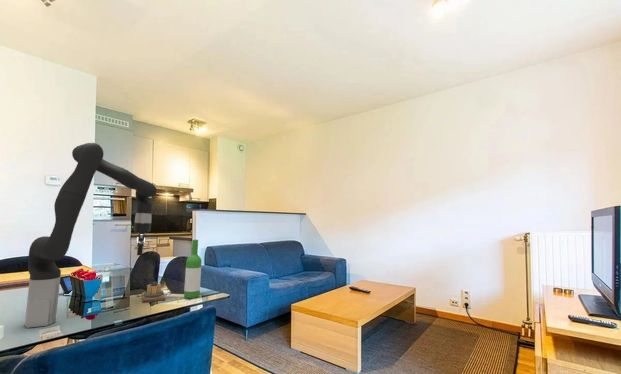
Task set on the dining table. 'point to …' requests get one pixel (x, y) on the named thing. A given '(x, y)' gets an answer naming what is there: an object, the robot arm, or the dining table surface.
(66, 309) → the dining table surface
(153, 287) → the brown ribbed pot
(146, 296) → the bobbin stand
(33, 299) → the robot arm
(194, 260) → the wine bottle
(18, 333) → the dining table surface
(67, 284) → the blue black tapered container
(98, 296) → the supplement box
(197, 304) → the dining table surface
